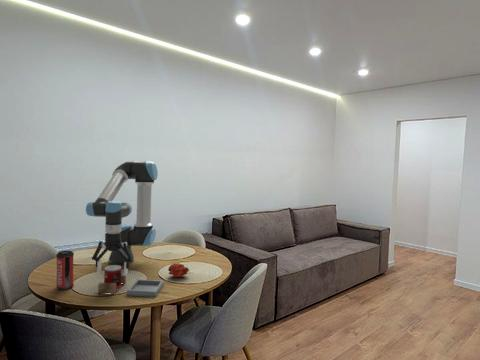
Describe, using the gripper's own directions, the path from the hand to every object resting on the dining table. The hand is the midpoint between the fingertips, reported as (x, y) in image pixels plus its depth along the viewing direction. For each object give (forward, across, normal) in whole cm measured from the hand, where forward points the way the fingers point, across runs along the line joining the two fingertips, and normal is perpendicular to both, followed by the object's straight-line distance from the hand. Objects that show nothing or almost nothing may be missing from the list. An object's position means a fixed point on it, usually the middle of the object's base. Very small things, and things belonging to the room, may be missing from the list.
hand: (112, 274), depth 155 cm
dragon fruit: (+8, +29, +20) cm, 36 cm away
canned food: (+8, 0, 0) cm, 8 cm away
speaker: (+8, -24, 0) cm, 25 cm away
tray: (+8, +17, 0) cm, 19 cm away
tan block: (+8, 0, 0) cm, 8 cm away
